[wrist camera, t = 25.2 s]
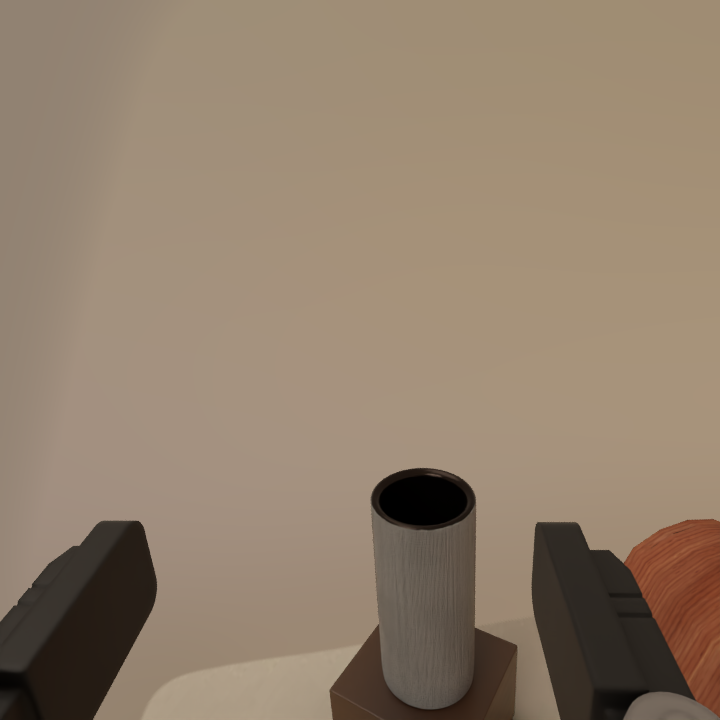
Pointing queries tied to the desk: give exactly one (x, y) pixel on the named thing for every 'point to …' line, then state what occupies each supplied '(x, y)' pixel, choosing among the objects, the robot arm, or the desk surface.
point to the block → (392, 716)
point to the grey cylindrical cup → (425, 584)
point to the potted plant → (685, 599)
